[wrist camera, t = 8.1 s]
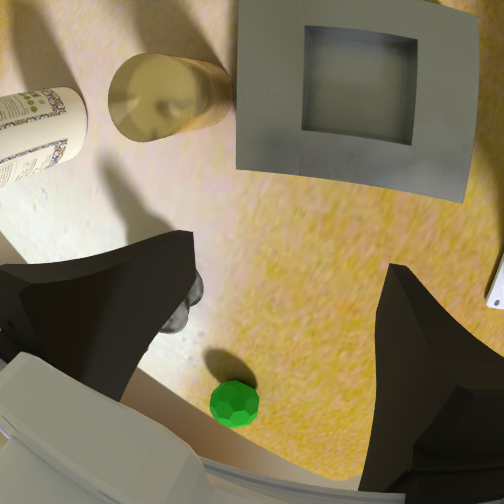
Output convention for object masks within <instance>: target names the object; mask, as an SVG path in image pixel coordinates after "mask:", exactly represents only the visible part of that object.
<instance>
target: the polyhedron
mask: <svg viewBox="0 0 504 504" xmlns="http://www.w3.org/2000/svg"><path fill="white" fill-rule="evenodd" d="M258 405H259V396H258V395H257V393H256V391H255V389H253V388H251V387H250V386H248V385H246V384H243V383H241V382H239V381H237V380H234V381H226V382H224V383H222V384H220V385H219V386H218V387H217V388H216V389H215V390H214V391H213V392H212V395H211V400H210V411H211V413H212V415H213V417H214V419H215V420H216V421H217V422H219V423H220V424H222V425H224V426H227V427H229V428H236V427H243V426H246V425H249V424H250V423H251V422H252V421H253V420H254V419H255V418H256V417H257V412H258Z"/></svg>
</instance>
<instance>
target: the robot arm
mask: <svg viewBox="0 0 504 504" xmlns="http://www.w3.org/2000/svg"><path fill="white" fill-rule="evenodd" d="M196 278H197V277H196V265H195V252H194V238H193V232H190V231H183V230H176V231H171V232H167V233H164V234H161V235H158V236H155V237H152V238H149V239H146V240H143V241H140V242H137V243H134V244H131V245H128V246H125V247H122V248H118V249H115V250H112V251H109V252H105V253H102V254H98V255H93V256H89V257H85V258H80V259H74V260H67V261H62V262H53V263H42V264H4V265H1V266H0V328H1V331H0V431H1V432H2V433H3V434H4V435H5V436H6V437H7V438H8V439H9V441H8V442H7V443H6V444H5V446H4V447H3V448H2V449H1V450H0V504H504V357H502V356H501V355H499V354H498V353H496V352H495V351H493V350H492V349H490V348H489V347H488V346H486V345H485V344H484V343H482V342H481V341H480V340H478V339H477V338H476V337H474V336H473V335H472V334H471V333H470V332H468V331H467V330H466V329H465V328H464V327H463V326H462V325H461V324H459V323H458V322H457V321H456V320H455V319H454V318H453V317H452V316H451V315H450V314H449V313H448V312H447V311H446V310H445V309H444V308H443V307H442V306H441V305H440V304H439V303H438V302H437V300H436V299H435V298H434V297H433V296H432V295H431V294H430V293H429V291H428V290H427V289H426V288H425V287H424V286H423V284H422V283H421V282H420V281H419V280H418V278H417V277H416V276H415V275H414V274H413V273H412V271H411V270H410V269H409V268H408V267H407V266H404V265H398V264H392V263H389V267H388V271H387V275H386V278H385V282H384V286H383V290H382V293H381V297H380V300H379V304H378V307H377V310H376V322H375V355H376V401H375V410H374V417H373V424H372V430H371V436H370V442H369V447H368V452H367V456H366V461H365V465H364V470H363V474H362V477H361V481H360V485H359V488H358V491H352V490H343V489H335V488H327V487H321V486H314V485H308V484H303V483H297V482H292V481H287V480H283V479H278V478H274V477H269V476H265V475H261V474H257V473H253V472H249V471H246V470H242V469H239V468H235V467H232V466H228V465H225V464H222V463H219V462H215V461H212V460H210V459H207V458H204V457H201V456H198V455H196V454H195V452H194V451H193V450H192V448H191V447H190V446H189V445H188V444H187V443H186V442H184V441H183V440H182V439H180V438H179V437H177V436H176V435H175V434H173V433H172V432H171V431H170V430H168V429H167V428H166V427H164V426H163V425H161V424H159V423H157V422H155V421H153V420H151V419H150V418H148V417H146V416H144V415H142V414H141V413H139V412H137V411H135V410H134V409H131V408H129V407H127V406H125V405H123V404H121V403H119V401H120V399H121V397H122V395H123V392H124V390H125V388H126V386H127V384H128V382H129V380H130V378H131V376H132V374H133V373H134V371H135V368H136V367H137V365H138V363H139V361H140V360H141V358H142V356H143V355H144V353H145V351H146V350H147V348H148V346H149V345H150V343H151V342H152V340H153V339H154V337H155V336H156V335H157V333H158V332H159V331H160V330H161V328H162V327H163V326H164V325H165V323H166V322H167V321H168V320H169V318H170V317H171V316H172V315H173V313H174V312H175V311H176V309H177V308H178V307H179V306H180V304H181V303H182V302H183V300H184V299H185V298H186V296H187V294H188V293H189V291H190V289H191V287H192V286H193V284H194V282H195V280H196ZM496 300H498V301H497V302H496V303H494V302H495V301H496ZM485 302H486V305H487V306H488V307H491V308H498V309H504V253H503V256H502V259H501V262H500V264H499V267H498V270H497V273H496V275H495V278H494V280H493V283H492V285H491V288H490V290H489V293H488V295H487V297H486V300H485Z"/></svg>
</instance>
